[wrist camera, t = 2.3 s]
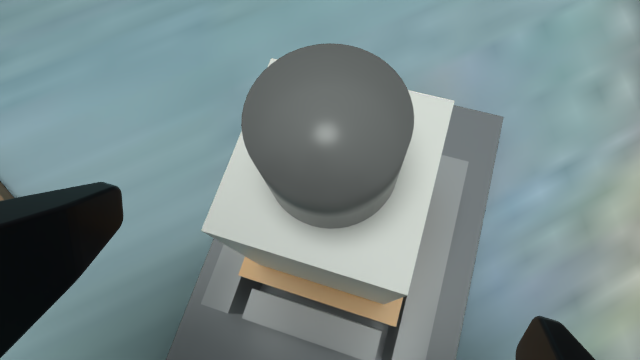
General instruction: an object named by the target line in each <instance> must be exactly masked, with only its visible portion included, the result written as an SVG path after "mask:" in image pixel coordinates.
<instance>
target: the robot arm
mask: <svg viewBox="0 0 640 360" xmlns="http://www.w3.org/2000/svg"><path fill="white" fill-rule="evenodd" d="M122 222H123V206H122V194H121V190H120V189H119V188H118V187H117V186H114V185H111V184H108V183H104V182H97V183H92V184H87V185H81V186H76V187H71V188H66V189H60V190H55V191H50V192H44V193H39V194H34V195H28V196H23V197H18V198H12V199H7V200H2V201H0V358H1V357H2V356H3V355H4V354H5V353H6V352H7V351H8V350H9V349H10V348H11V347H12V346H13V345H14V344H15V343H16V342H17V341H18V340H19V339H20V338H21V337H22V336H23V335H24V334H25V333H26V332H27V331H28V330H29V329H30V327H31V326H32V325H33V324H34V323H35V322H36V321H37V320H38V319H39V318H40V317H41V316H42V315H43V314H44V313H45V312H46V311H47V310H48V309H49V308H50V307H51V306H52V305H53V304H54V303H55V302H56V301H57V300H58V299H59V298H60V297H61V296H62V295H63V294H64V293H65V292H66V291H67V290H68V289H69V288H70V287H71V286H72V285H73V284H74V283H75V281H76V280H77V279H78V278H79V277H80V276H81V275H82V273H83V272H84V271H85V270H86V269H87V267H88V266H89V265H90V264H91V263H92V261H93V260H94V259H95V258H96V256H97V255H98V254H99V253H100V251H101V250H102V249H103V248H104V246H105V245H106V244H107V243H108V242H109V240H110V239H111V238H112V237H113V235H114V234H115V233H116V232H117V230H118V229H119V228H120V226H121V224H122ZM516 360H595V359H594V358H593V357H592V356H591V354H590V353H589V352H588V351H587V350H586V349H585V348H584V347H583V346H582V345H581V344H580V343H579V342H578V340H577V339H576V338H575V337H574V336H573V335H572V334H571V333H570V332H569V331H568V330H567V329H566V328H565V326H564V325H562V324H561V323H560V322H558V321H555V320H552V319H549V318H545V317H542V316H537V317H535V318H534V319H533V320H532V321H531V323H530V325H529V326H528V328H527V330H526V332H525V333H524V335H523V337H522V338H521V340H520V342H519V344H518V346H517V350H516Z"/></svg>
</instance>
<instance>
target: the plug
mask: <svg viewBox="0 0 640 360" xmlns="http://www.w3.org/2000/svg"><path fill="white" fill-rule="evenodd" d="M453 105H454V101H453V100H449V99H444V98H440V97H436V96H431V95H427V94H423V93H419V92H414V91H410V90H408V89H407V87H406V85H405V84H404V82H403V80H402V79H401V78H400V76H399V75H398V74H397V73H396V71H395V70H394V69H393V68H392V67H391V66H390V65H389V64H387V63H386V62H385V61H383V60H382V59H381V58H379V57H377V56H376V55H374V54H372V53H370V52H368V51H365V50H363V49H360V48H357V47H353V46H349V45H343V44H318V45H312V46H307V47H304V48H300V49H297V50H295V51H292V52H290V53H288V54H286V55H284V56H282V57H281V58H279V59H278V60H277V59H273V58H271V60H270V63H269V65H268V67H267V68H266V69H265V70H264V71H263V72H262V73H261V75H260V76H259V77H258V78H257V79H256V81H255V82H254V84H253V85H252V87H251V89H250V91H249V93H248V95H247V97H246V100H245V103H244V107H243V112H242V124H241V126H242V132H241V134H240V136H239V139H238V141H237V144H236V146H235V149H234V151H233V154H232V156H231V159H230V161H229V163H228V166H227V168H226V171H225V173H224V176H223V178H222V181H221V183H220V186H219V188H218V191H217V193H216V195H215V198H214V200H213V203H212V205H211V208H210V210H209V213H208V215H207V218H206V220H205V222H204V225H203V227H202V230H201V231H203V232H204V233H206V234H208V235H209V236H211V237H213V238H214V239H216V240H218V241H220V242H221V243H223V244H225V245H226V246H228V247H230V248H232V249H233V250H235V251H237V252H238V253H240V254H242V255H243V256H245V258H244V261H243V263H242V266H241V269H240V271H239V274H238V275H239V276H242V277H244V278H247V279H250V280H253V281H256V282H259V283H262V284H265V285H268V286H271V287H274V288H277V289H280V290H283V291H286V292H289V293H292V294H296V295H299V296H302V297H305V298H308V299H311V300H314V301H317V302H320V303H323V304H326V305H329V306H332V307H335V308H338V309H341V310H344V311H347V312H350V313H353V314H356V315H359V316H363V317H366V318H369V319H372V320H375V321H378V322H381V323H384V324H387V325H390V326H394V327H396V325H397V321H398V317H399V313H400V309H401V305H402V300H403V297H405V296H408V292H409V288H410V284H411V279H412V275H413V271H414V267H415V263H416V259H417V255H418V250H419V246H420V242H421V238H422V234H423V230H424V225H425V221H426V217H427V213H428V209H429V205H430V201H431V196H432V192H433V188H434V184H435V180H436V176H437V171H438V167H439V163H440V159H441V155H442V151H443V146H444V142H445V138H446V134H447V130H448V126H449V122H450V117H451V113H452V109H453Z"/></svg>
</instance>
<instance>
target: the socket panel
mask: <svg viewBox="0 0 640 360" xmlns="http://www.w3.org/2000/svg"><path fill="white" fill-rule="evenodd" d="M502 122H503V117H502V116H497V115H493V114H489V113H485V112H480V111H476V110H472V109H468V108H463V107H459V106H455V105H453V109H452V113H451V117H450V122H449V126H448V130H447V134H446V138H445V142H444V146H443V151H442V155H441V159H440V163H439V167H438V171H437V176H436V180H435V184H434V188H433V192H432V196H431V201H430V205H429V209H428V213H427V217H426V221H425V225H424V230H423V234H422V238H421V242H420V246H419V250H418V255H417V259H416V263H415V267H414V271H413V275H412V279H411V284H410V288H409V292H408V296H405V297H403V300H402V305H401V309H400V313H399V317H398V321H397V325H396V327H394V326H390V325H387V324H384V323H381V322H378V321H375V320H372V319H369V318H366V317H363V316H359V315H356V314H353V313H350V312H347V311H344V310H341V309H338V308H335V307H332V306H329V305H326V304H323V303H320V302H317V301H314V300H311V299H308V298H305V297H302V296H299V295H296V294H292V293H289V292H286V291H283V290H280V289H277V288H274V287H271V286H268V285H265V284H262V283H259V282H256V281H253V280H250V279H247V278H244V277H242V276H239V275H238V274H239V271H240V269H241V266H242V263H243V261H244V258H245V256H243V255H242V254H240V253H238V252H237V251H235V250H233V249H232V248H230V247H228V246H226V245H225V244H223V243H221V242H220V241H218V240H216V239H213V242H212V244H211V247H210V249H209V252H208V254H207V257H206V259H205V262H204V264H203V267H202V270H201V272H200V275H199V277H198V280H197V282H196V285H195V287H194V290H193V292H192V295H191V297H190V300H189V302H188V305H187V307H186V310H185V313H184V315H183V318H182V320H181V323H180V325H179V328H178V330H177V333H176V335H175V338H174V340H173V343H172V345H171V348H170V350H169V353H168V356H167V358H166V360H456V355H457V350H458V345H459V340H460V335H461V330H462V325H463V320H464V315H465V310H466V305H467V300H468V294H469V289H470V284H471V279H472V274H473V269H474V264H475V259H476V254H477V249H478V244H479V239H480V234H481V229H482V223H483V218H484V213H485V208H486V203H487V198H488V193H489V188H490V183H491V178H492V173H493V168H494V163H495V158H496V152H497V147H498V142H499V137H500V132H501V127H502Z"/></svg>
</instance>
